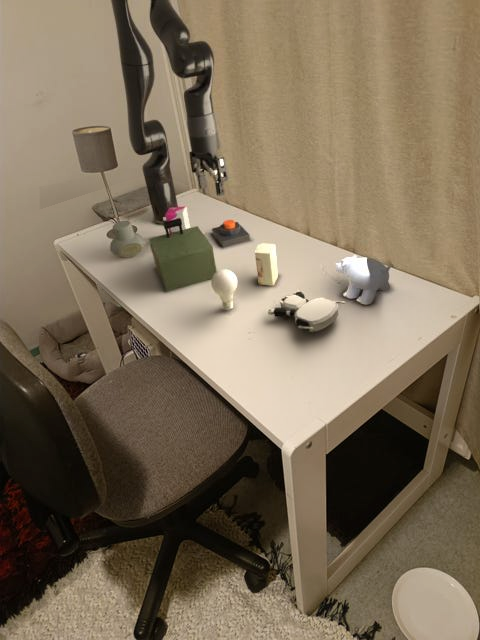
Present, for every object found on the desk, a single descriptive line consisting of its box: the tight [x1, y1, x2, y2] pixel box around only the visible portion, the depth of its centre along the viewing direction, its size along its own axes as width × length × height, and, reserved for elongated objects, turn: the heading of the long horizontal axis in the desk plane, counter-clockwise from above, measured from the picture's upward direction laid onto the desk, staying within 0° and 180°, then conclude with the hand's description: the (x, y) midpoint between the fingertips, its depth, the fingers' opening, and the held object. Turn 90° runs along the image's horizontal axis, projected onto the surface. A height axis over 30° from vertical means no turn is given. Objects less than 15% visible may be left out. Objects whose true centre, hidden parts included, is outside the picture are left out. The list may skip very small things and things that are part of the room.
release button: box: [222, 219, 236, 229], centre depth 140 cm, size 4×4×2 cm
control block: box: [211, 221, 251, 249], centre depth 141 cm, size 11×9×4 cm
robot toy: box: [267, 290, 346, 333], centre depth 103 cm, size 12×4×15 cm
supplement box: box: [165, 206, 191, 233], centre depth 140 cm, size 6×6×12 cm
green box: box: [149, 243, 218, 292], centre depth 125 cm, size 14×15×9 cm
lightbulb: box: [210, 268, 238, 311], centre depth 108 cm, size 6×6×11 cm
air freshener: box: [109, 220, 146, 258], centre depth 139 cm, size 11×8×10 cm
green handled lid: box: [148, 218, 214, 263], centre depth 121 cm, size 15×15×5 cm
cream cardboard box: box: [254, 242, 279, 287], centre depth 116 cm, size 5×4×10 cm
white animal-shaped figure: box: [334, 254, 394, 306], centre depth 108 cm, size 11×15×10 cm
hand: (211, 191), depth 125 cm, fingers open, 8 cm apart
